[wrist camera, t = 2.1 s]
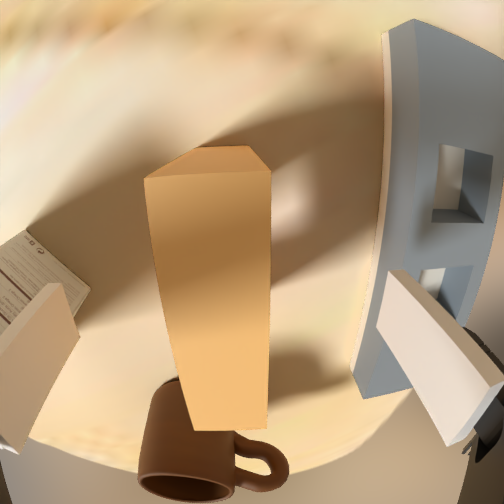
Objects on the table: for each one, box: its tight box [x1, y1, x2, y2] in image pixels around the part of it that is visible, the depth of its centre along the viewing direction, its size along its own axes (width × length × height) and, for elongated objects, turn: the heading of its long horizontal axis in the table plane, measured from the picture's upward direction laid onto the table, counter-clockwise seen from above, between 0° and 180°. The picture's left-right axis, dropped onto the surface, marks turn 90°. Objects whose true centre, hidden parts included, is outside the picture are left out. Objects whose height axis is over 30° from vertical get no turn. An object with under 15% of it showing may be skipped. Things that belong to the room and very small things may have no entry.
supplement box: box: [0, 230, 91, 450], centre depth 13 cm, size 7×7×13 cm
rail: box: [349, 19, 504, 399], centre depth 17 cm, size 26×8×4 cm, turn 1°
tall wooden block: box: [143, 145, 271, 431], centre depth 13 cm, size 10×3×10 cm, turn 1°
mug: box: [138, 380, 289, 503], centre depth 21 cm, size 12×8×9 cm, turn 82°
